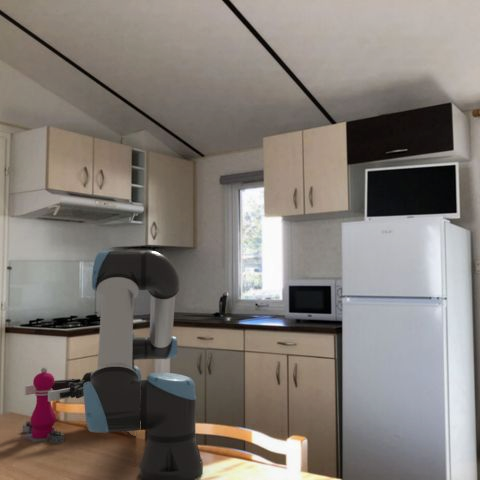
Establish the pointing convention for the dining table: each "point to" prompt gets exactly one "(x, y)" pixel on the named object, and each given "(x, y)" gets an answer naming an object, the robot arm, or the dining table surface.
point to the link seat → (29, 437)
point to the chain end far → (28, 428)
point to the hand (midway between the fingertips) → (36, 393)
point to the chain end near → (55, 437)
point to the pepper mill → (43, 406)
